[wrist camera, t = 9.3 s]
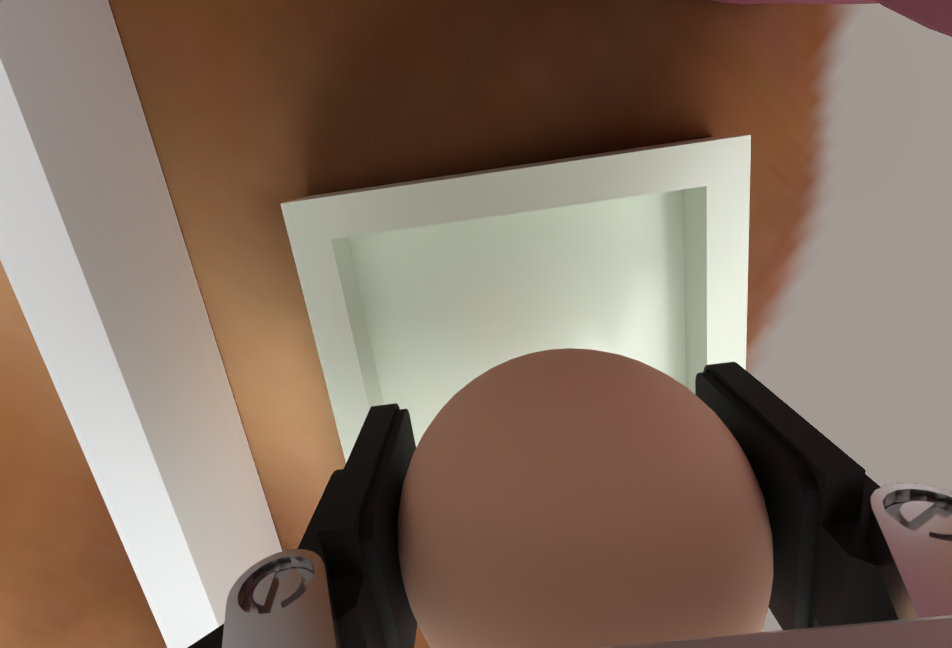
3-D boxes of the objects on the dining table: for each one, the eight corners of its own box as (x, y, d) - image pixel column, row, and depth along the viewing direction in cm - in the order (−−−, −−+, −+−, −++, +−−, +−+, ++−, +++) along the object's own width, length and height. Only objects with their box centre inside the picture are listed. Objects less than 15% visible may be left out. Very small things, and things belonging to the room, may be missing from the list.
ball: (396, 325, 11) (306, 508, 5) (684, 288, 11) (906, 442, 5) (441, 554, 13) (410, 869, 7) (688, 528, 13) (855, 837, 7)
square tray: (306, 196, 14) (280, 203, 13) (713, 136, 14) (750, 135, 12) (384, 526, 18) (373, 571, 16) (713, 488, 17) (742, 530, 15)
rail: (-90, -321, 11) (-513, -670, 6) (19, -342, 11) (-329, -714, 6) (249, 622, 19) (174, 777, 14) (313, 615, 19) (259, 769, 14)
